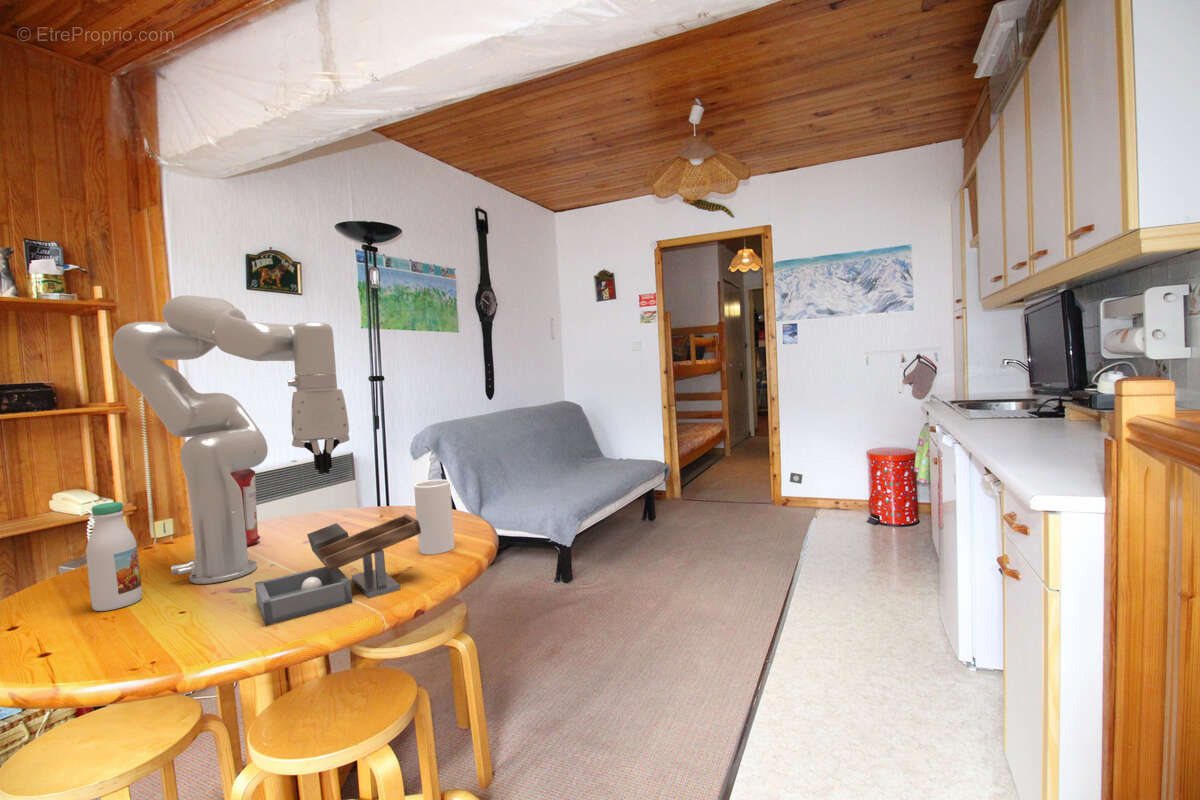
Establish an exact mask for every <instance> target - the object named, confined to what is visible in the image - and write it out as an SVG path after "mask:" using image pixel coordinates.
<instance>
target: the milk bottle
mask: <svg viewBox="0 0 1200 800" xmlns="http://www.w3.org/2000/svg"><path fill="white" fill-rule="evenodd" d="M123 513H124V506H123V502H121V501H111V502H103V503H100V504H99V503H98V504H96V505H93V506H92V507H91V514H92V518H93V519H94V524H93V525H94V526H93V529H92V532H91V534H90V535H89V538H88V541H87V544H86V551H85V552H86V554H85V555H86V564H87V565H86V567H87V575H88V576H87V577H88V585H89V586H88V587H89V594H90V602H91V603H90V604H91V608H92V610H93V611H95V612H105V611H112V610H117V609H122V608H125V607H128V606H130V605H133V604H135V603H137V602H139V601H140V600H142V597H143V589H142V588H143V587H142V580H141V571H140V569H141V568H140V562H139V561H140V560H139V552H138V545H137V540H136V538H135V536H134V533H133V531H132V530H131V529H130V528H129V527H128V526H127V524H126V522H125V520H124V518H123Z"/></svg>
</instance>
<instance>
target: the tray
mask: <svg viewBox="0 0 1200 800" xmlns="http://www.w3.org/2000/svg"><path fill="white" fill-rule="evenodd" d="M310 577H316V578H318V579H320V581H321V583H322V587H319V588H314V589H310V590H306V591H302V589H301V587H302V583H303V582H304V581H305V580H306V579H307V578H310ZM351 584H352V583H351V581H350V579H349V578H348V577H347V576H346V575H345V574H344V573H343V571H342V570H341V569H340V568H337V569H335V570H332V571H329V570H328V569H327V568H326V567H325V566H322V567H318V568H314V569H309V570H305V571H301V572H295V573H292V574H287V575H282V576H279V577H275V578H269V579H266V580H262V581H261V580H259V581H256V582H255V583H254V585H255V586H254V587H255V594H256V596H255V597H256V605H257V607H258V610H259V613H260V615H261V617H262V621H263V623H264V625H265V627H266V626H270V625H274V624H277V623H281V622H285V621H290V620H293V619H297V618H300V617H305V616H307V615H312V614H315V613H319V612H323V611H326V610H330V609H333V608H338V607H341V606H344V605H348V604H353V595H352V585H351Z"/></svg>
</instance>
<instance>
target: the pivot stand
mask: <svg viewBox="0 0 1200 800" xmlns="http://www.w3.org/2000/svg"><path fill="white" fill-rule="evenodd" d="M373 554H374V555H373V556H372V554H370V555H368V556H366V557H363V558H362V567H363V572H360V573H356V574H352V575H351V581H352V582H353V583H354V585H356V586H357V587H358V589H359V590H360V589H361V590H362V591H361V590H360V591H361V592H362V593H363V594H364V595H365V596H366V597H367V598H368V599H370V598H369V597H371V598H374V597H373V596H375V597H378V596H382V595H385V593H386V594H390V593H392V592H396V590H397V591H400V590H401V585H400V583H398V581H396V580H395V579H394V578H393V577H392V575H391V576H390V575H389V574H388V573H387V572H386V562H385V550H384V549H382V550H379V551H375V552H374V553H373ZM372 557H374V565H373V558H372ZM373 567H374V568H375V569H374V568H373ZM389 592H390V593H389ZM381 594H382V595H381ZM377 595H378V596H377Z"/></svg>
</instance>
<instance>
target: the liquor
mask: <svg viewBox="0 0 1200 800" xmlns="http://www.w3.org/2000/svg"><path fill="white" fill-rule="evenodd" d="M230 474H231V476H232V477H233V478H234V480H235V481H236V482H237V484H238V485H239V487H240V489H241V492H242V500H243V510H244V520H245V531H246V542H247V547H252V546H254V545H256V544H257V542H258V541H259V540H260V538H261V536H260V535H259V533H258V532H259V530H258V515H257V483H256V471H255V470H253V468H248V469H244V470H239V471H235V472H232V473H230Z"/></svg>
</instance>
